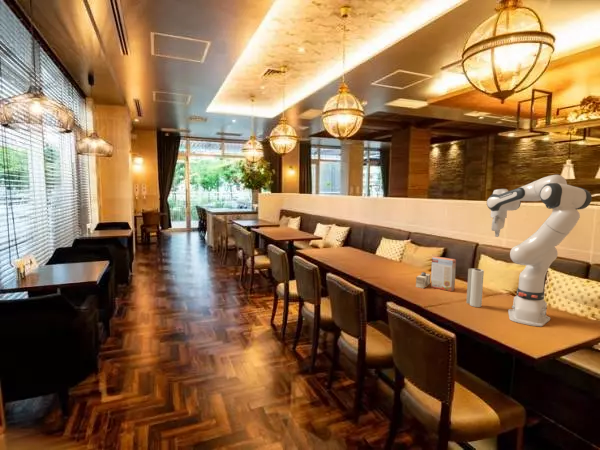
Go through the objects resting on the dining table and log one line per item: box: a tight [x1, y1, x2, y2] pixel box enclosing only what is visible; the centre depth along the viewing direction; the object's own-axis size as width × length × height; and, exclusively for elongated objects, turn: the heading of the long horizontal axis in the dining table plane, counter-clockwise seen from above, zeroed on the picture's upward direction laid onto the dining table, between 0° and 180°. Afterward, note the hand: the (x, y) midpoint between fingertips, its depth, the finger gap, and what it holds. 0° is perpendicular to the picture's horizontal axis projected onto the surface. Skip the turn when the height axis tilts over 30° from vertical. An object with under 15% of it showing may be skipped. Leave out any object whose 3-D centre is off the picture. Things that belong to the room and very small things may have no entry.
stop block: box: [415, 271, 431, 289], centre depth 239 cm, size 14×5×9 cm, turn 141°
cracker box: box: [430, 256, 457, 292], centre depth 231 cm, size 14×6×21 cm, turn 45°
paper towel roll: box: [465, 268, 485, 308], centre depth 199 cm, size 7×6×21 cm
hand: (497, 236), depth 217 cm, fingers closed
